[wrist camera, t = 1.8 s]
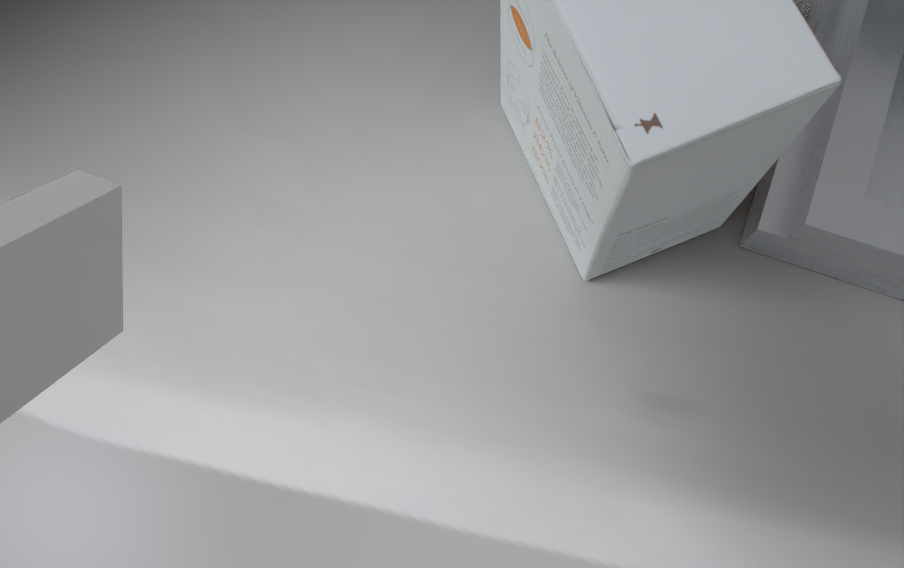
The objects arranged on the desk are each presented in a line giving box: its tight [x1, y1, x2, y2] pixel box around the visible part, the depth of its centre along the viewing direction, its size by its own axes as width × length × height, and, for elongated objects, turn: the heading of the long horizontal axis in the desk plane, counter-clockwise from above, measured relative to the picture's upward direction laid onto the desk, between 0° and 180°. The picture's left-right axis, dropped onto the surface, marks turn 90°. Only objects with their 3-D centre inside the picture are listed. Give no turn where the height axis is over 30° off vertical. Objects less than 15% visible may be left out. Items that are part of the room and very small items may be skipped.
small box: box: [500, 0, 842, 281], centre depth 23 cm, size 8×6×10 cm
